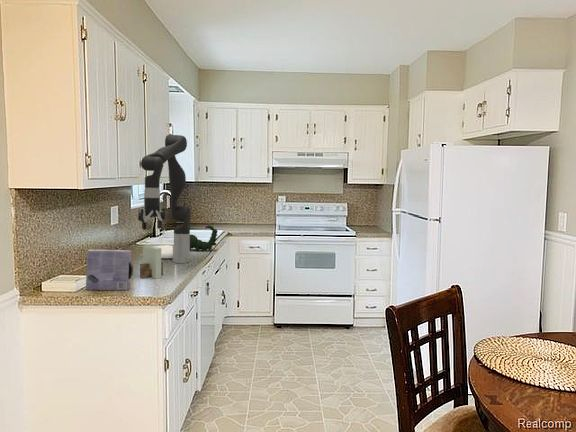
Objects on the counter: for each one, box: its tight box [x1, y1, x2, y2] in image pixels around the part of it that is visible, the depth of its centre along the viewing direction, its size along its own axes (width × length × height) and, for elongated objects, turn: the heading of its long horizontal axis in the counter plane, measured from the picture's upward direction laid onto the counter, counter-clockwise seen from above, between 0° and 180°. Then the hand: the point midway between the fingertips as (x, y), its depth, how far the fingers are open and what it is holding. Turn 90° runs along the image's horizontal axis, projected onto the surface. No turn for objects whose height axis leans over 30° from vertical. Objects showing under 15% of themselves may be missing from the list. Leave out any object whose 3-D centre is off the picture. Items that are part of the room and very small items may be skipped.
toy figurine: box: [190, 225, 218, 252], centre depth 313 cm, size 9×19×25 cm
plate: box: [153, 244, 173, 259], centre depth 290 cm, size 28×6×27 cm
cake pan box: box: [85, 249, 134, 291], centre depth 203 cm, size 19×5×18 cm, turn 99°
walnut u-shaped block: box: [139, 260, 164, 279], centre depth 231 cm, size 12×2×7 cm, turn 141°
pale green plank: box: [142, 245, 162, 280], centre depth 231 cm, size 11×3×15 cm, turn 51°
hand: (151, 229), depth 229 cm, fingers open, 8 cm apart
